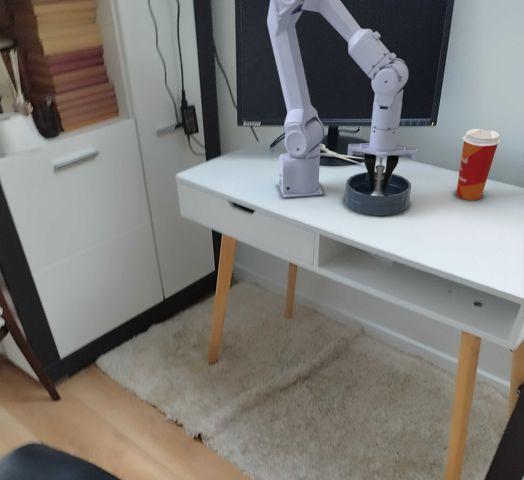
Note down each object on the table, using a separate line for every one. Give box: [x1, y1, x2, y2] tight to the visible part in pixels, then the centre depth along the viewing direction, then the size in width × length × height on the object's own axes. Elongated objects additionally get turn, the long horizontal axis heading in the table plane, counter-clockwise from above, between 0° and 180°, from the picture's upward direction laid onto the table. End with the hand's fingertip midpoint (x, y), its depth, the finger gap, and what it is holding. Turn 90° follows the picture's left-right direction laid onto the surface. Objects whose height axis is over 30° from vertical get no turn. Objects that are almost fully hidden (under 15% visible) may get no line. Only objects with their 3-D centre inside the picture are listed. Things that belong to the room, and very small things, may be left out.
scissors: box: [319, 143, 364, 165], centre depth 147 cm, size 11×1×20 cm
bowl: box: [344, 171, 412, 216], centre depth 123 cm, size 14×14×4 cm
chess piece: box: [371, 157, 386, 196], centre depth 121 cm, size 5×5×10 cm
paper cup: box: [456, 128, 501, 201], centre depth 122 cm, size 8×8×14 cm
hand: (377, 188), depth 122 cm, fingers closed on chess piece
